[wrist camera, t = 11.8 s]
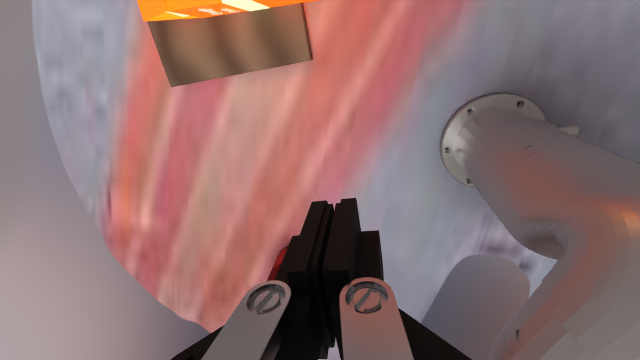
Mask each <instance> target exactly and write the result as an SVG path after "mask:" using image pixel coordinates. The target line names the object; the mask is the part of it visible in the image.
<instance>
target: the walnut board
mask: <svg viewBox="0 0 640 360" xmlns="http://www.w3.org/2000/svg"><path fill="white" fill-rule="evenodd" d="M147 22H148V25H149V27H150V30H151V33H152V36H153V38H154V41H155V44H156V47H157V50H158V52H159V55H160V58H161V61H162V64H163V66H164V69H165V72H166V75H167V77H168V80H169V83H170V86H171V87H174V86H180V85H185V84H190V83H195V82H200V81H206V80H211V79H216V78H221V77H226V76H232V75H237V74H242V73H247V72H252V71H258V70H263V69H268V68H273V67H278V66H284V65H289V64H294V63H299V62H305V61H310V60H313V59H312V54H311V48H310V42H309V37H308V31H307V25H306V19H305V14H304V8H303V3H297V4H290V5H284V6H277V7H271V8H267V9H261V10H254V11H245V12H238V13H232V14H225V15H219V16H212V17H206V18H187V19H172V20H157V21H147Z"/></svg>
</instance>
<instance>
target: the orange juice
mask: <svg viewBox="0 0 640 360" xmlns="http://www.w3.org/2000/svg"><path fill="white" fill-rule="evenodd" d="M137 1H138V4H139V7H140V11H141V14H142V17H143V20H144V21H157V20H172V19H187V18H206V17H212V16H219V15H225V14H232V13H238V12H245V11H254V10H261V9H267V8H271V7H277V6H284V5H290V4H297V3H303V2H310V1H316V0H137Z"/></svg>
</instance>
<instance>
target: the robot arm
mask: <svg viewBox="0 0 640 360" xmlns="http://www.w3.org/2000/svg"><path fill="white" fill-rule="evenodd" d="M518 101H519V104H518V105H516V104H517V102H518ZM469 108H471V110H470V111H469V112H467V110H468V109H469ZM578 133H579V127H578V126H577V125H567V126H562V127H556V126H555V125H553V124H551V123H549V122H547V121H546V118H545V116H544V114H543V113H542V111H541V110H540V109H539V108H538V107H537V106H536V105H535V104H534V103H532V102H531V101H529V100H527V99H525V98H523V97H520V96H517V95H512V94H502V93H498V94H491V95H486V96H483V97H480V98H477V99H475V100H473V101H471V102H469V103H467V104H466V105H465V106H463V107H462V108H461V109H459V110H458V111H457V112H456V113H455V114H454V115H453V116H452V118H451V119H450V120H449V122H448V123H447V125H446V127H445V129H444V131H443V133H442V137H441V142H440V153H441V159H442V161H443V163H444V166H445V167H446V169H447V170H448V172H449V173H450V174H451V175H452V176H453V177H454V178H455V179H456V180H458V181H459V182H460V183H462V184H465V185H467V186H470V187H474V188H476V189H477V190H478V191H479V193H480V194H481V195H482V197H483V198H484V200H485V201H486V202H487V204H488V205H489V206H490V208H491V209H492V210H493V212H494V213H495V214H496V216H497V217H498V218H499V220H500V221H501V222H502V223H503V225H504V226H505V228H506V229H507V230H508V231H509V233H510V234H511V235H512V236H513V237H514V238H515V239H516V240H517V241H518V242H519V243H520V244H522V245H523V246H524V247H526V248H528V249H529V250H531V251H533V252H535V253H538V254H540V255H542V256H545V257H549V258H552V259H556V260H558V261H557V262H556V264H555V265H554V267H553V268H552V269H551V270H550V271H549V273H548V274H547V275H546V276H545V277H544V279H543V280H542V283H541V284H540V286H539V287H538V288H537V289H536V290H535V291H534V293H533V294H532V295H531V296H530V297H529V299H528V300H527V301H526V302H525V303H524V305H523V306H522V307H521V308H520V309H519V310H518V311H517V313H516V314H515V315H514V316H513V317H512V319H511V320H510V321H509V322H508V323H507V324H506V325H505V327H504V328H503V329H502V330H501V332H500V333H499V335H498V336H497V337H496V339H495V341H494V343H493V345H492V347H491V350H490V353H489V359H488V360H640V163H637V162H635V161H632V160H630V159H627V158H624V157H622V156H620V155H617V154H615V153H613V152H610V151H608V150H606V149H604V148H601V147H599V146H596V145H593V144H591V143H589V142H587V141H584V140H582V139H580V138H578V137H575V136H577V135H578ZM446 147H448V149H447V150H445V148H446ZM468 178H469V179H468ZM467 179H468V180H467ZM335 337H336V340H337V345H338V349H339V354H340V358H341V360H471V359H470V358H469V357H467V356H466V355H464V354H463V353H462V352H460V351H459V350H457V349H456V348H454V347H453V346H452V345H450V344H449V343H447V342H446V341H445V340H443V339H442V338H440V337H439V336H437V335H436V334H435V333H433V332H432V331H430V330H429V329H427V328H426V327H425V326H423V325H422V324H420V323H419V322H418V321H416V320H415V319H413V318H412V317H411V316H409V315H408V314H406V313H405V312H403V311H402V310H401V309H399V308H398V306H397V303H396V299H395V296H394V293H393V291H392V289H391V287H390V286H389V285H388V284H387V283H386V282H384V277H383V263H382V253H381V244H380V236H379V230H378V231H363V232H361V228H360V221H359V214H358V207H357V201H356V198H350V199H341V203H336V206H335V210H334V208H333V204H328V202H327V201H316V202H312V203H311V206H310V209H309V211H308V214H307V217H306V220H305V222H304V225H303V228H302V230H301V233H300V236H293V237H292V238H291V241H290V243H289V246H288V248H287V250H286V253H285V255H284V258H283V260H282V263H281V265H280V268H279V270H278V273H277V275H276V278H275V280H270V281H266V282H262V283H260V284H258V285H256V286H254V287H253V288H252V289H250V290H249V291H248V292H247V294H246V295H245V296H244V297H243V299H242V300H241V302H240V303H239V305H238V306H237V308H236V309H235V311H234V312H233V314H232V315H231V316H230V318H229V319H228V321H227V322H226V324H225V325H224V326H222V327H220V328H219V329H217V330H216V331H214V332H213V333H211V334H209V335H208V336H206V337H205V338H203V339H201V340H200V341H198V342H197V343H195V344H193V345H192V346H190V347H189V348H187V349H185V350H184V351H183V352H181V353H179V354H178V355H176V356H175V357H174V358H172V359H171V360H318V359H327V356H328V349H329V347H334V345H335Z"/></svg>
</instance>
